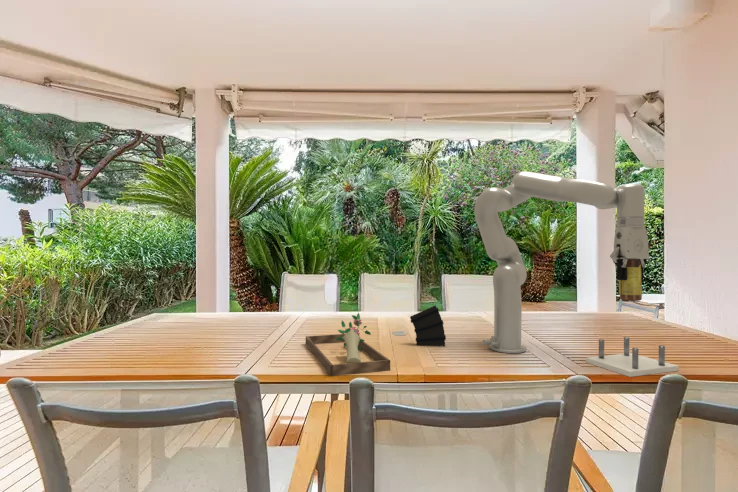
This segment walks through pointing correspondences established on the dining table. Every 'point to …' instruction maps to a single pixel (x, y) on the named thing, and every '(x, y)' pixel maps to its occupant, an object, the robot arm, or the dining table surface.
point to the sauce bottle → (631, 281)
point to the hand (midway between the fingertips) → (630, 279)
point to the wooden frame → (348, 368)
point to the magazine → (429, 327)
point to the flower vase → (352, 340)
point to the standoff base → (627, 365)
